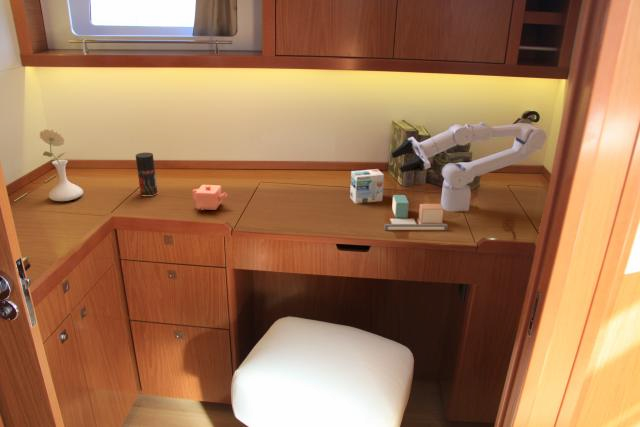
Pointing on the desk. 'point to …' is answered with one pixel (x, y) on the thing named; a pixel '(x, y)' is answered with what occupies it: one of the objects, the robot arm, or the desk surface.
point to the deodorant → (146, 173)
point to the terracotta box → (431, 213)
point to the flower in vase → (60, 170)
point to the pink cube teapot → (208, 197)
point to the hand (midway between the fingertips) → (396, 162)
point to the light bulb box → (366, 186)
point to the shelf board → (413, 225)
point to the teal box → (400, 206)
